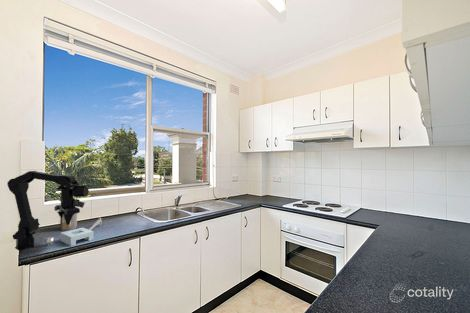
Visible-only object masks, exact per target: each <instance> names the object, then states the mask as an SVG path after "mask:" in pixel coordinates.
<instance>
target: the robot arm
mask: <svg viewBox="0 0 470 313" xmlns="http://www.w3.org/2000/svg"><path fill="white" fill-rule="evenodd" d="M34 180H40V181H47V182H52V183H55V184H57V185H59V186H58V187H57V188H56V190H58V191H60V198H59V199H58V200H59V201H60V204H57V205H55V206H54V209H53V210H54V211H56V213H57V214H58V216H59V219H60V218H61V219H62V215H63V217H64V219H65V221H66V224H67V225H69V224H70V221H71V219H72V216H73V215H74V214H75V213H77V214H79V213H81V210H80V208H81V209H82V208H84V206H85V204H86V202H84V201H81V200H80V199H79V198H86V197H88V196H89V192H90V189H89V188H88V186H87V184H83V185H82V184H81V185H80V183H79V182H78V181H77V180H76V177H75V176H74V175H72V174H55V173H54V174H53V173H48V172H42V171H37V170H31V171H30V170H29V171H26V172H25V173H24V174H21V175H19V176H16V177H14V178H11V179H9V180H8V181H7V182H6V183H7V187H8V189H9V192H10V193H12V194H13V195H14V198H15V203H16V207H17V211H18V215H19V223H18V224H17V229H18V230H17V231H16V232H15V233H13V234H12V239H13V240H15V247H14V249H15V250H17V251H23V250H26V249H30V248H33V247H35V246H34V245H35V237H34V235H35V234H36V232H37V231H38V229H39V227H40V222H39V218H34V217H33V215H32V214H33V213H32V210H31V205H30V201H29V197H28V190H29V186H30V183H31V182H33V181H34ZM74 197H75V198H74Z"/></svg>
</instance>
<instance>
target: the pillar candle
mask: <svg viewBox="0 0 470 313" xmlns="http://www.w3.org/2000/svg"><path fill="white" fill-rule="evenodd" d="M59 220H60V223H59V230H60V231H63V232H66V231H70V230H74V229H77V228H78V227H77V226H78V213H75V214H74V215H73V216H72V219H71V228H70V229H66V230H63V229H62V219H61V218H60V217H59Z"/></svg>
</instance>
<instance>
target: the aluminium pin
mask: <svg viewBox="0 0 470 313" xmlns="http://www.w3.org/2000/svg"><path fill="white" fill-rule="evenodd" d="M54 245H55V237H54V236H48V237H45V238H44V247H51V246H54Z"/></svg>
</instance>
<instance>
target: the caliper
mask: <svg viewBox="0 0 470 313" xmlns="http://www.w3.org/2000/svg"><path fill="white" fill-rule="evenodd" d="M101 225H102V218H101V217H98V219H97V220H96V221H95V223H94V224H93V225H92V226H90V227H89V228H87V229H88V230H91V231H93V229H95V228H96V227H98V226H101Z"/></svg>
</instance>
